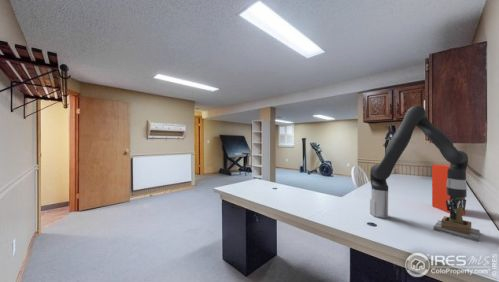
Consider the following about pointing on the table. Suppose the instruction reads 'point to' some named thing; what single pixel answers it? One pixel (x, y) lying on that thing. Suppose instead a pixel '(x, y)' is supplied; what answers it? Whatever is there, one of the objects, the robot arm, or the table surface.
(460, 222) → the cork
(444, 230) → the socket block
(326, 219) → the table surface
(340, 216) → the table surface
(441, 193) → the file binder
